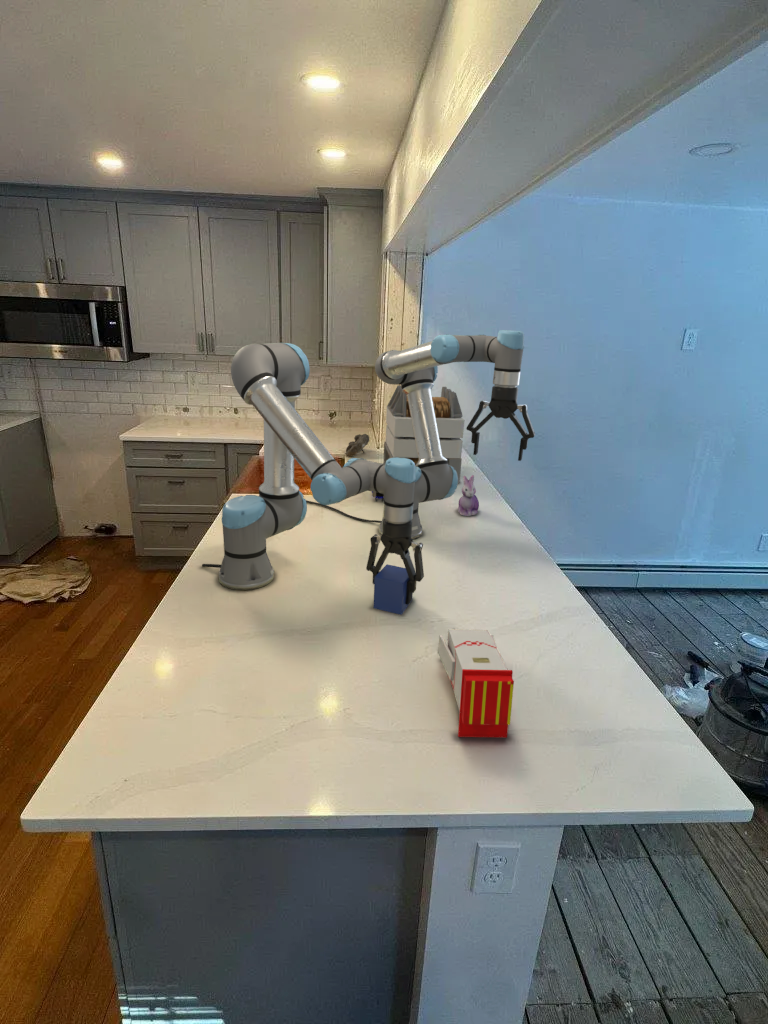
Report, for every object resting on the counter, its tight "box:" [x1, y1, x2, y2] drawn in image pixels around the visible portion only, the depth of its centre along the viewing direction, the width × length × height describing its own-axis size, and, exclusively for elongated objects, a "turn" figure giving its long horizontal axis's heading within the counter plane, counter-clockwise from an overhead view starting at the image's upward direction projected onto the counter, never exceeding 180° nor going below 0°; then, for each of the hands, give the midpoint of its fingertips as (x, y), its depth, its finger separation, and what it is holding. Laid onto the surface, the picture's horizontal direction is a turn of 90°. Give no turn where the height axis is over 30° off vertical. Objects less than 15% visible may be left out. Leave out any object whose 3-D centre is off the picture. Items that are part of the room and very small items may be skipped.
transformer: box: [382, 384, 465, 484], centre depth 268 cm, size 34×33×41 cm
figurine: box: [457, 474, 480, 517], centre depth 221 cm, size 9×10×15 cm
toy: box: [437, 628, 515, 738], centre depth 117 cm, size 12×13×30 cm
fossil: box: [345, 433, 370, 458], centre depth 306 cm, size 22×10×15 cm
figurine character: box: [371, 491, 384, 502], centre depth 236 cm, size 7×8×15 cm
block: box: [372, 563, 414, 616], centre depth 151 cm, size 9×8×9 cm
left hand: (393, 598), depth 152 cm, fingers closed on block, 8 cm apart
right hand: (497, 456), depth 172 cm, fingers open, 13 cm apart
